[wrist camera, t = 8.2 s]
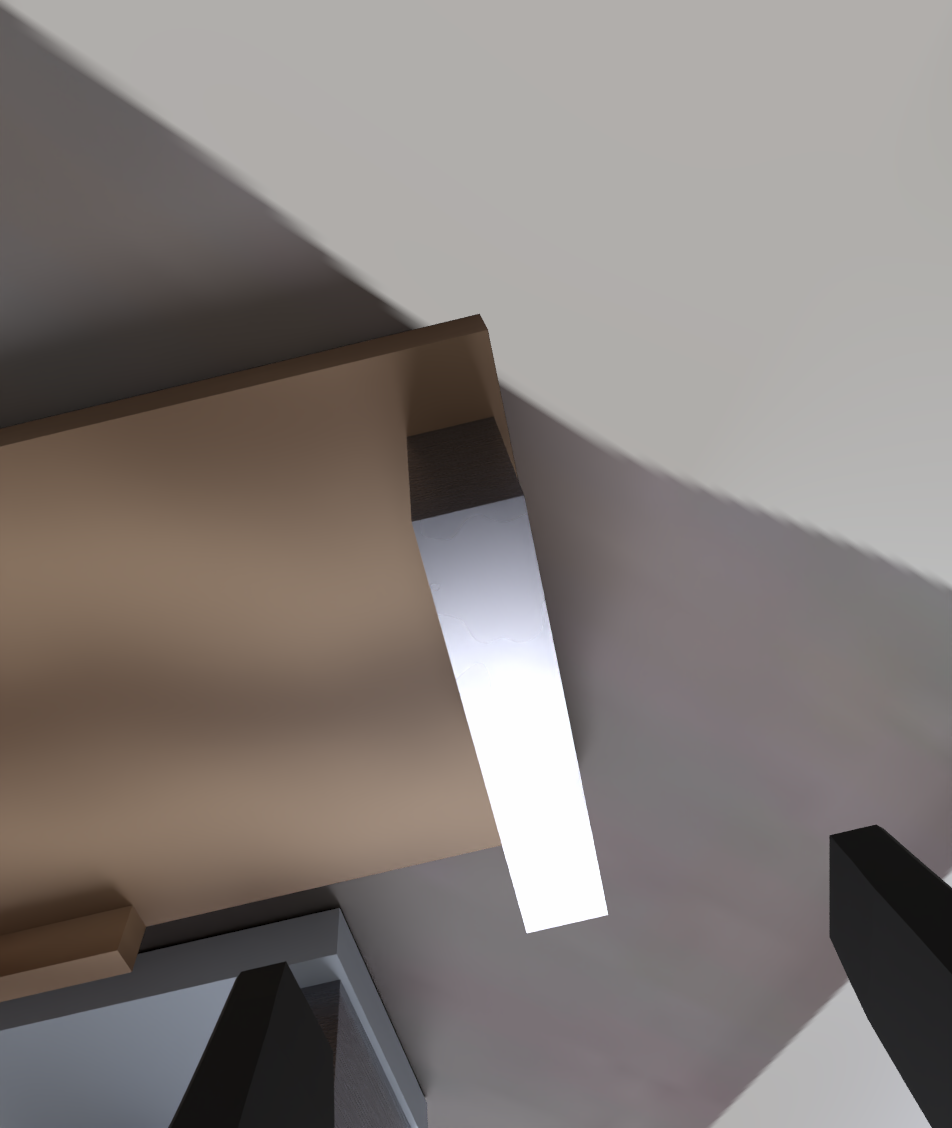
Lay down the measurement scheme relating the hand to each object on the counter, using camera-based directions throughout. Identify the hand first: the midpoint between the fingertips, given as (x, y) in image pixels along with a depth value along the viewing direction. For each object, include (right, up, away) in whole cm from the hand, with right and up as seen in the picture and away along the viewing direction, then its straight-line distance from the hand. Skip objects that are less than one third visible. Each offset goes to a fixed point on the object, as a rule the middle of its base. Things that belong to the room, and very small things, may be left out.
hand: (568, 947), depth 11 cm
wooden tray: (-11, +2, +7) cm, 13 cm away
